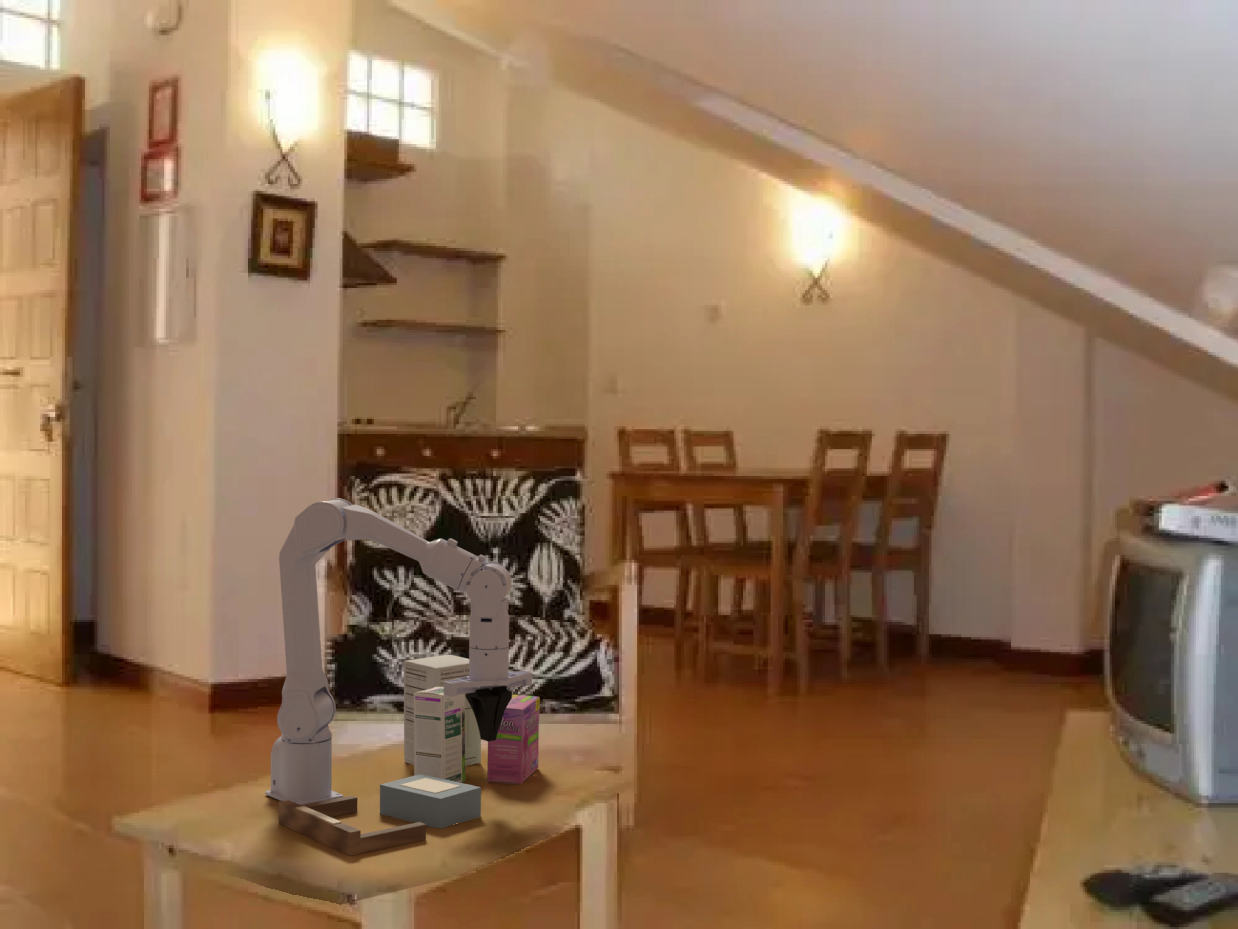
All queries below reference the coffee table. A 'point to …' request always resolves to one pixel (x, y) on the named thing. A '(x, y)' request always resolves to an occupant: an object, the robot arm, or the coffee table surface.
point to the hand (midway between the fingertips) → (488, 739)
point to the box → (515, 742)
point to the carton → (430, 801)
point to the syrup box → (439, 735)
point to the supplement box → (426, 677)
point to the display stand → (343, 826)
